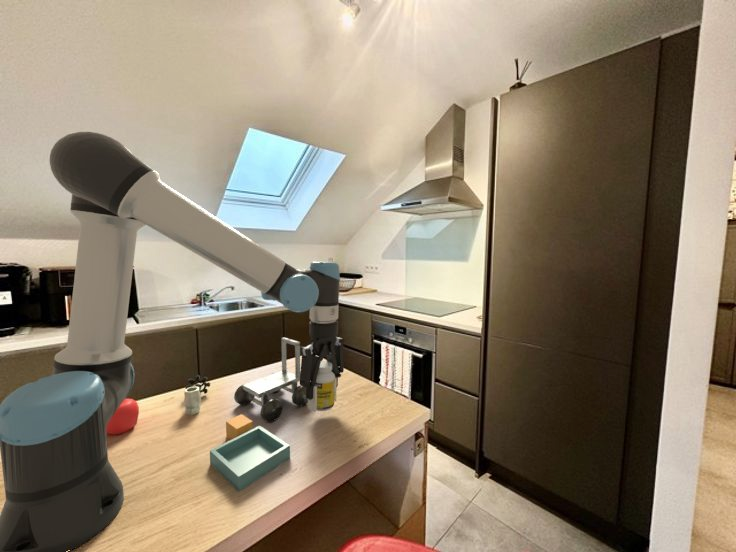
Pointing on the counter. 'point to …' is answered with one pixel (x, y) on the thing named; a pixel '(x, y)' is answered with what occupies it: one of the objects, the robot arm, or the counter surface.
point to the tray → (249, 457)
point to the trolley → (274, 387)
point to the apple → (123, 417)
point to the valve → (194, 395)
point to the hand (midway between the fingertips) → (322, 404)
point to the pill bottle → (325, 387)
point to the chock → (238, 426)
